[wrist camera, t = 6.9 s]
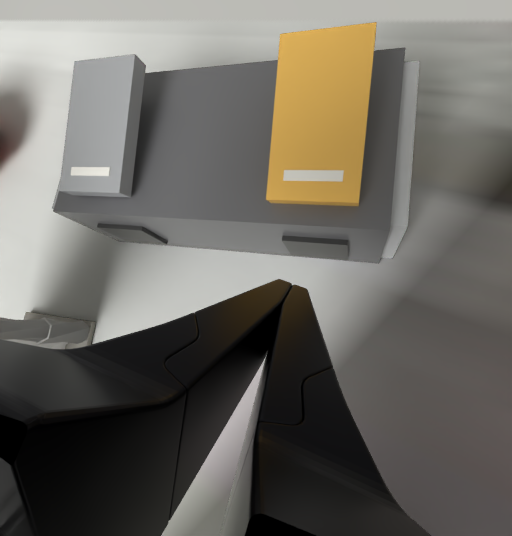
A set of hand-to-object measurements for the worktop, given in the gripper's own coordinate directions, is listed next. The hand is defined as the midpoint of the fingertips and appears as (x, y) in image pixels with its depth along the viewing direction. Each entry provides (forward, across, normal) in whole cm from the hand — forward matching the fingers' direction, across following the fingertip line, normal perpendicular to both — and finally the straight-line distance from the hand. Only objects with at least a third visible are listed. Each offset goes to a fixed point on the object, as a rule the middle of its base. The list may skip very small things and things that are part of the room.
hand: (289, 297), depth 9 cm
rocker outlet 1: (+10, +14, 0) cm, 17 cm away
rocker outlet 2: (+10, +2, -4) cm, 11 cm away
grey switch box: (+16, +7, +2) cm, 18 cm away
